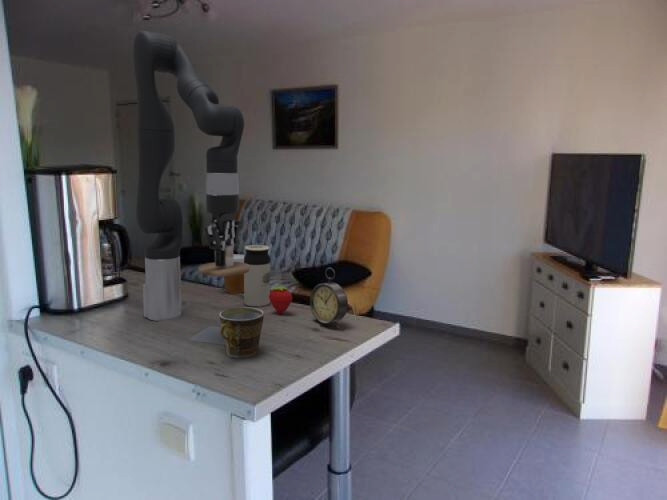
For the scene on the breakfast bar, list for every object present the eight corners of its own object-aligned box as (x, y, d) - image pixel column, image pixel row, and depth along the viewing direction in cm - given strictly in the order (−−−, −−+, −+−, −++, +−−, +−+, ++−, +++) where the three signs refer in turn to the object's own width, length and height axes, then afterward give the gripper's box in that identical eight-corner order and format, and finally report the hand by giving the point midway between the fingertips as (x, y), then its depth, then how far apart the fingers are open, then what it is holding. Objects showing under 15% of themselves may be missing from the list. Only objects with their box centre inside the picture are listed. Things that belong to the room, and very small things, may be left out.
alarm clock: (308, 322, 141) (309, 265, 138) (321, 318, 145) (323, 263, 142) (337, 332, 134) (338, 272, 131) (350, 327, 138) (352, 269, 135)
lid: (189, 273, 118) (188, 248, 117) (214, 264, 129) (213, 241, 128) (236, 277, 115) (235, 251, 114) (257, 267, 126) (257, 243, 125)
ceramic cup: (235, 344, 123) (235, 304, 122) (271, 351, 120) (271, 310, 118) (202, 363, 112) (202, 320, 110) (241, 371, 108) (241, 326, 106)
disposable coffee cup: (236, 296, 165) (235, 260, 163) (215, 291, 170) (214, 256, 168) (255, 290, 173) (255, 256, 171) (234, 286, 178) (234, 252, 176)
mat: (187, 342, 124) (187, 339, 124) (210, 328, 134) (210, 326, 134) (228, 347, 121) (228, 345, 121) (248, 333, 131) (248, 330, 131)
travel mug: (238, 303, 157) (238, 246, 154) (258, 298, 163) (258, 243, 160) (255, 308, 152) (255, 250, 149) (275, 303, 158) (275, 247, 155)
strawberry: (282, 319, 143) (282, 285, 141) (264, 314, 148) (264, 280, 146) (296, 315, 147) (297, 282, 146) (278, 309, 152) (279, 277, 150)
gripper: (222, 190, 126) (223, 258, 129) (192, 193, 113) (194, 269, 116) (249, 191, 124) (250, 260, 127) (222, 194, 111) (224, 271, 114)
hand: (224, 264), depth 122 cm, fingers closed on lid, 3 cm apart
